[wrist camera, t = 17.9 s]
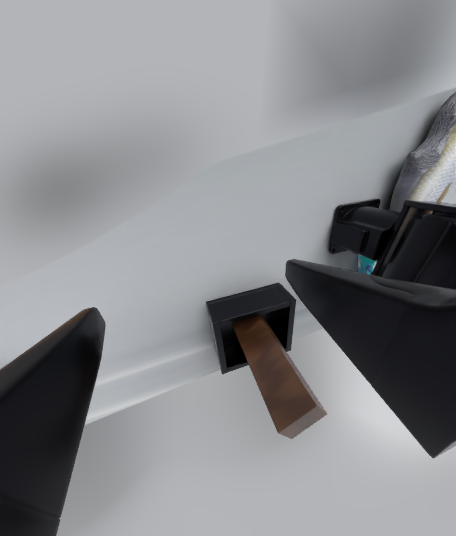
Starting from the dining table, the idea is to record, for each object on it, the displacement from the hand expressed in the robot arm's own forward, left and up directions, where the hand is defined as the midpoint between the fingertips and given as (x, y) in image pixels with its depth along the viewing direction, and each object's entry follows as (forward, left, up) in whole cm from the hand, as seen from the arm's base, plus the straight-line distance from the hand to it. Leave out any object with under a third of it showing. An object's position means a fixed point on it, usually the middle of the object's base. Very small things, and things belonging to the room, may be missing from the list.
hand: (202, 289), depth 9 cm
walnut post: (-6, +15, -11) cm, 20 cm away
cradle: (-6, +15, -12) cm, 20 cm away
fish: (-35, 0, -10) cm, 37 cm away
